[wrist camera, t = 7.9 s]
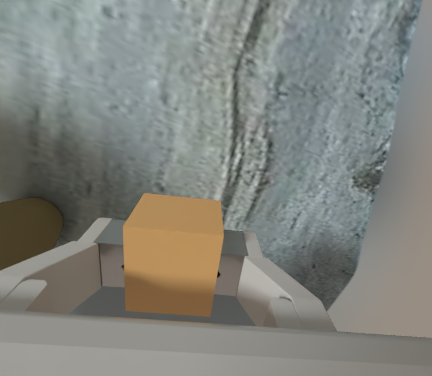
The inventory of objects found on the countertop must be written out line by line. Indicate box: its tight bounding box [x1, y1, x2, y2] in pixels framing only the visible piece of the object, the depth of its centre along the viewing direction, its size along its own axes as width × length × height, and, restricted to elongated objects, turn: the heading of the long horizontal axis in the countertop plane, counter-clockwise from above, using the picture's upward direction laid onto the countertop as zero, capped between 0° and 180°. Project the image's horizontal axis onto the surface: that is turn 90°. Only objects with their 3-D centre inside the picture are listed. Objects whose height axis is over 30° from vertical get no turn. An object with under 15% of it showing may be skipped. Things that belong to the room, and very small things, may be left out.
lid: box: [68, 193, 256, 326], centre depth 11 cm, size 9×15×3 cm, turn 173°
